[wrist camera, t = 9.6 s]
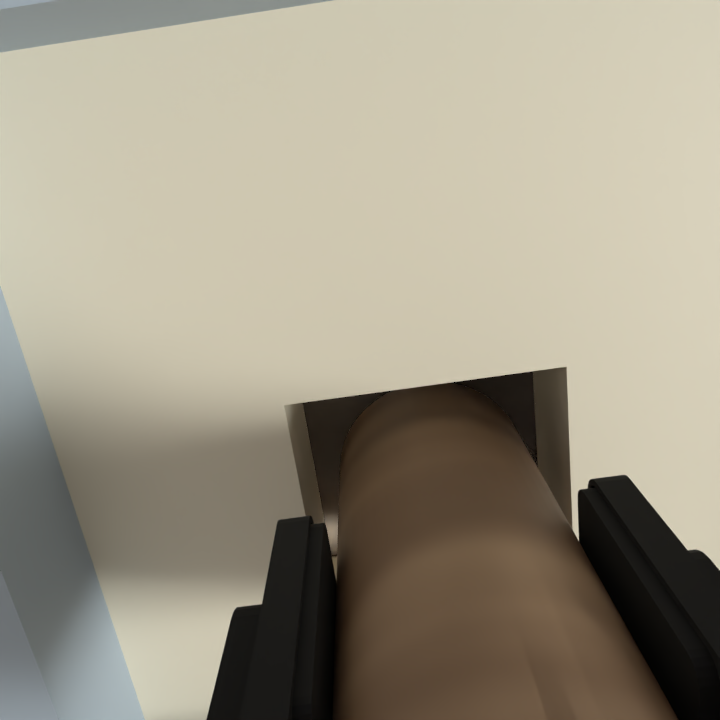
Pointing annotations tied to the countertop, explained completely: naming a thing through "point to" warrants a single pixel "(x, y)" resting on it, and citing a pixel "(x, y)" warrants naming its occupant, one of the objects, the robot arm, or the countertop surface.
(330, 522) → the countertop surface
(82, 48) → the box
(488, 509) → the dowel
